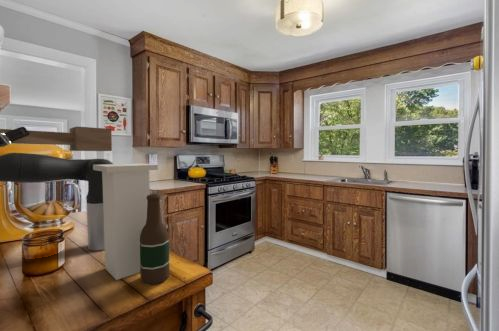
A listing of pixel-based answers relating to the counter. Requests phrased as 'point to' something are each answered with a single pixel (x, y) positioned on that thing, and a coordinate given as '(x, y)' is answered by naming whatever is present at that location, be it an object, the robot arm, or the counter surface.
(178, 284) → the counter surface
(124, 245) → the stand
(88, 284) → the counter surface
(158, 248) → the beer bottle
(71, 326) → the counter surface
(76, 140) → the mallet
